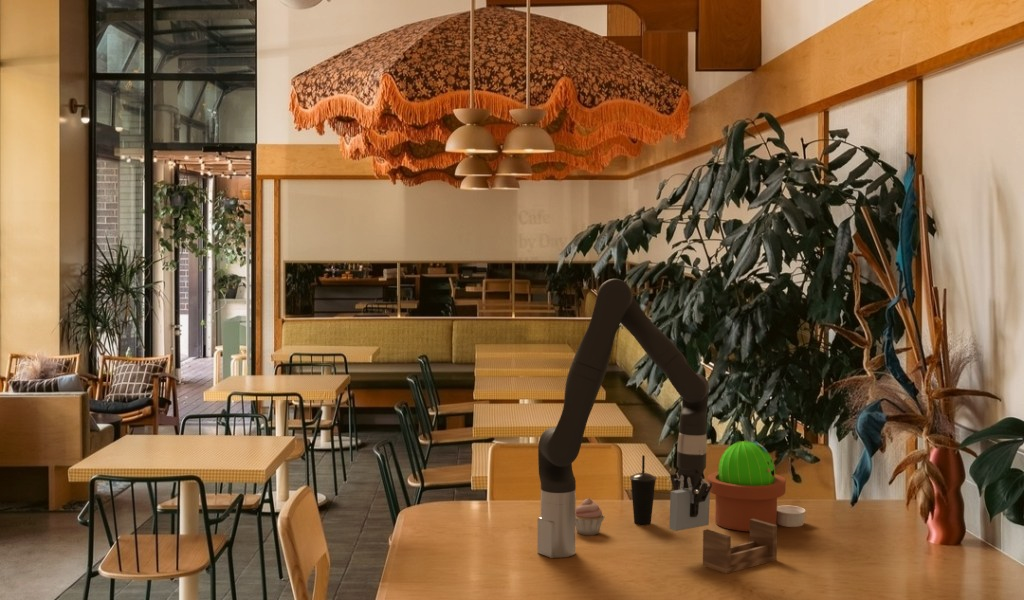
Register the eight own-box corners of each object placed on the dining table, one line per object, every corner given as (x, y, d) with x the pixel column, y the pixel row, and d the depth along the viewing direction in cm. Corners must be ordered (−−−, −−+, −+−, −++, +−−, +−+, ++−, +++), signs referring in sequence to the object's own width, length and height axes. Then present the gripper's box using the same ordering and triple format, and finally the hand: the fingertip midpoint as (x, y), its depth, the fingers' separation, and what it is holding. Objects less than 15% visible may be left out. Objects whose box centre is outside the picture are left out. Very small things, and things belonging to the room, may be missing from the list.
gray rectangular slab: (675, 531, 284) (677, 493, 283) (669, 529, 286) (670, 491, 285) (708, 524, 291) (710, 487, 290) (702, 522, 293) (703, 485, 292)
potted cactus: (697, 528, 315) (698, 442, 314) (720, 510, 335) (721, 429, 333) (773, 538, 305) (775, 450, 303) (792, 519, 324) (794, 436, 323)
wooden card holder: (726, 573, 275) (726, 537, 274) (702, 565, 281) (703, 530, 280) (776, 560, 286) (777, 525, 285) (752, 552, 292) (753, 518, 292)
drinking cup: (647, 528, 315) (648, 459, 313) (624, 523, 319) (625, 456, 318) (660, 522, 321) (661, 455, 320) (638, 518, 326) (638, 451, 324)
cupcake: (593, 539, 304) (593, 503, 303) (565, 533, 310) (565, 498, 309) (611, 531, 312) (611, 497, 311) (583, 526, 317) (583, 492, 316)
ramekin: (808, 528, 316) (808, 513, 316) (777, 527, 316) (778, 513, 316) (801, 519, 325) (801, 505, 325) (771, 519, 325) (771, 505, 325)
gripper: (663, 447, 291) (660, 511, 292) (700, 456, 279) (698, 523, 280) (683, 444, 295) (681, 507, 296) (721, 453, 284) (718, 519, 285)
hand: (689, 515), depth 288 cm, fingers closed on gray rectangular slab, 2 cm apart
